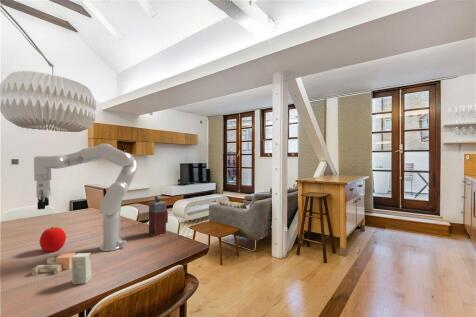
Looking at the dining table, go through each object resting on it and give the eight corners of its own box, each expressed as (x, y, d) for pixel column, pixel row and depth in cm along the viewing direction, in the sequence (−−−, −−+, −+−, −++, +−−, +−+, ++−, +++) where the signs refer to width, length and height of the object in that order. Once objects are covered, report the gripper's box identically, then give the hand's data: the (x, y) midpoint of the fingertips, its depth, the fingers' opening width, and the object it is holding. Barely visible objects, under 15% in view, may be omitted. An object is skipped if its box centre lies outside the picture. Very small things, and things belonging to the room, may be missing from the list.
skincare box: (91, 278, 108) (91, 252, 108) (86, 284, 104) (86, 256, 104) (77, 279, 108) (77, 252, 108) (71, 284, 104) (71, 256, 104)
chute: (73, 260, 127) (73, 255, 127) (57, 273, 113) (57, 267, 113) (51, 261, 125) (51, 256, 125) (32, 275, 111) (32, 268, 111)
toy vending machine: (168, 232, 174) (169, 195, 174) (155, 236, 165) (155, 197, 165) (162, 230, 180) (162, 193, 180) (148, 233, 171) (148, 195, 171)
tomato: (35, 255, 133) (35, 230, 133) (45, 247, 144) (45, 224, 144) (60, 252, 137) (60, 228, 137) (69, 245, 148) (69, 223, 148)
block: (75, 264, 123) (75, 252, 123) (69, 269, 117) (69, 257, 117) (62, 264, 122) (62, 253, 122) (56, 269, 117) (56, 257, 117)
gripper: (48, 178, 128) (48, 209, 128) (54, 176, 143) (54, 204, 143) (30, 179, 124) (30, 211, 124) (38, 176, 139) (38, 205, 140)
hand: (43, 207), depth 134 cm, fingers open, 9 cm apart
